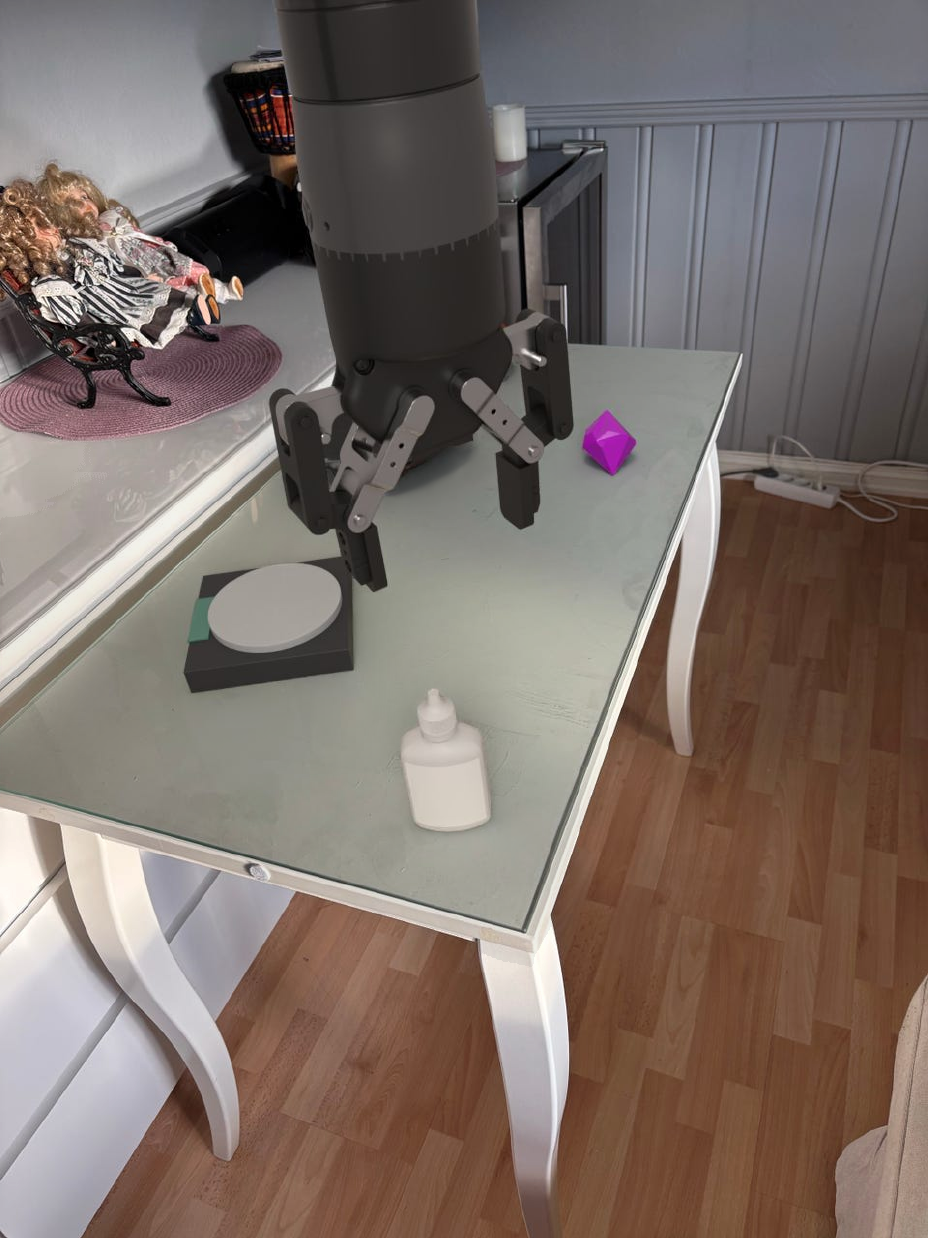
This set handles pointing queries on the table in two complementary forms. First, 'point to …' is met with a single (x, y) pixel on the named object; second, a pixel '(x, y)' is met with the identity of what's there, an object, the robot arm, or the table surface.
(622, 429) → the crystal
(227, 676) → the scale
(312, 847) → the table surface
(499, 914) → the table surface
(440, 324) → the robot arm
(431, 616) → the table surface
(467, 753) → the eye dropper bottle
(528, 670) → the table surface
